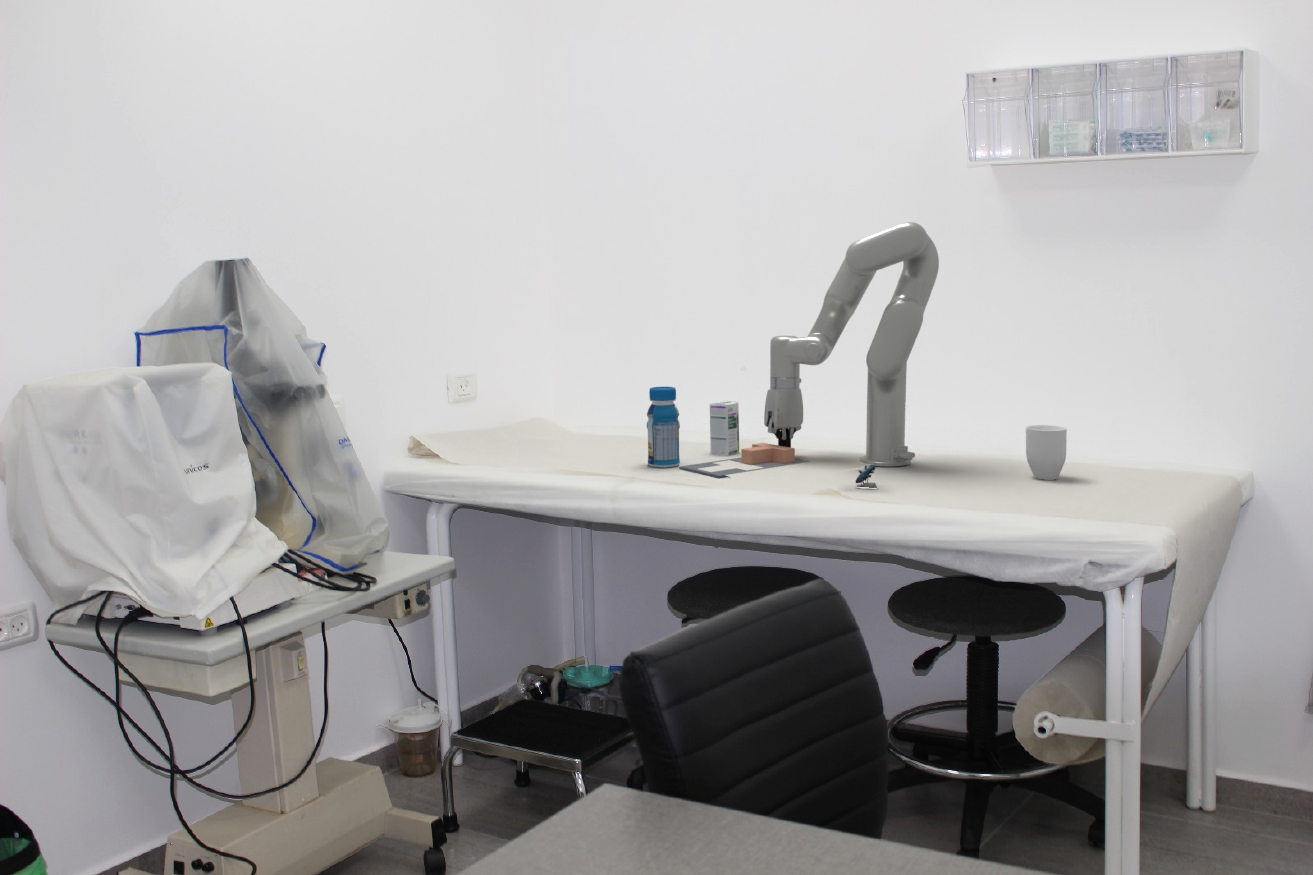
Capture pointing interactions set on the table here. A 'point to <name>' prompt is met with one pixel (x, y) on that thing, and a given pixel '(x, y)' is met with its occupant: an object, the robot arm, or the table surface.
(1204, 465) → the table surface
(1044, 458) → the mug
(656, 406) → the beverage bottle
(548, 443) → the table surface
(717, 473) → the mat
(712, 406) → the syrup box
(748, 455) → the tee
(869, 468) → the sculpture
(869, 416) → the robot arm
